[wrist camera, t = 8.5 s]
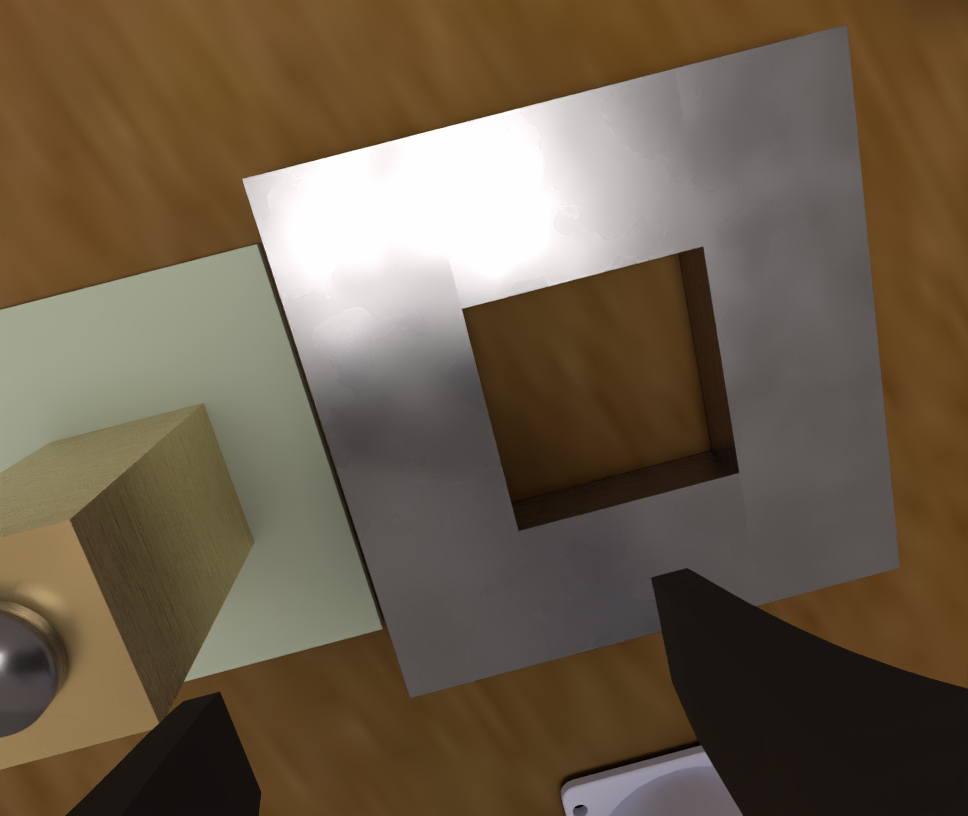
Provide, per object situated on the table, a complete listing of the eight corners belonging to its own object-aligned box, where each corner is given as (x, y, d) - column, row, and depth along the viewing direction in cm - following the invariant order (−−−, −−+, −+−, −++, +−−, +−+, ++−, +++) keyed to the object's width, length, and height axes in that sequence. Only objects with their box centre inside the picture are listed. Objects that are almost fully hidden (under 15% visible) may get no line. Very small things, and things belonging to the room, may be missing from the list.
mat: (383, 622, 23) (382, 629, 23) (73, 704, 23) (67, 712, 22) (260, 243, 20) (257, 244, 19) (-102, 336, 20) (-113, 338, 19)
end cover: (254, 542, 21) (148, 749, 13) (109, 580, 21) (-89, 813, 13) (203, 402, 20) (52, 534, 12) (49, 442, 20) (-210, 602, 12)
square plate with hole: (860, 538, 24) (899, 567, 22) (411, 657, 23) (410, 698, 21) (805, 43, 19) (847, 24, 18) (260, 182, 19) (242, 179, 17)
